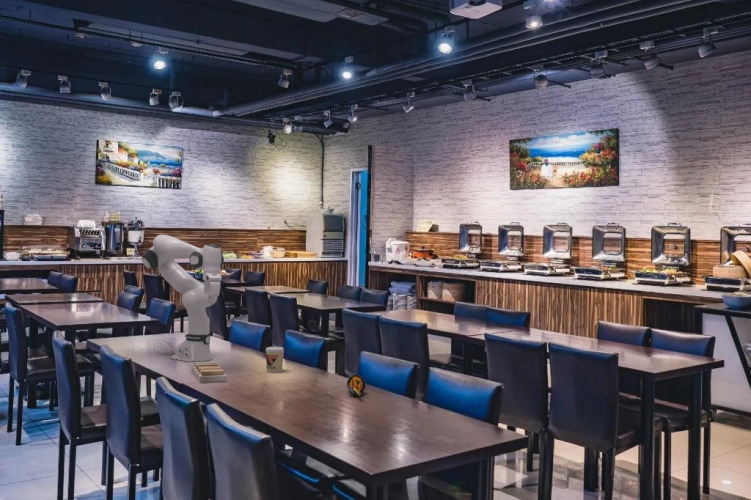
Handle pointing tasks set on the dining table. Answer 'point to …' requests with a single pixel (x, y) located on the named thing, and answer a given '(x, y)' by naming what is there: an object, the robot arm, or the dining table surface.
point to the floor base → (206, 378)
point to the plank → (210, 370)
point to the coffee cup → (274, 359)
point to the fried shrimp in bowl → (356, 385)
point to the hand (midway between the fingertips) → (211, 304)
